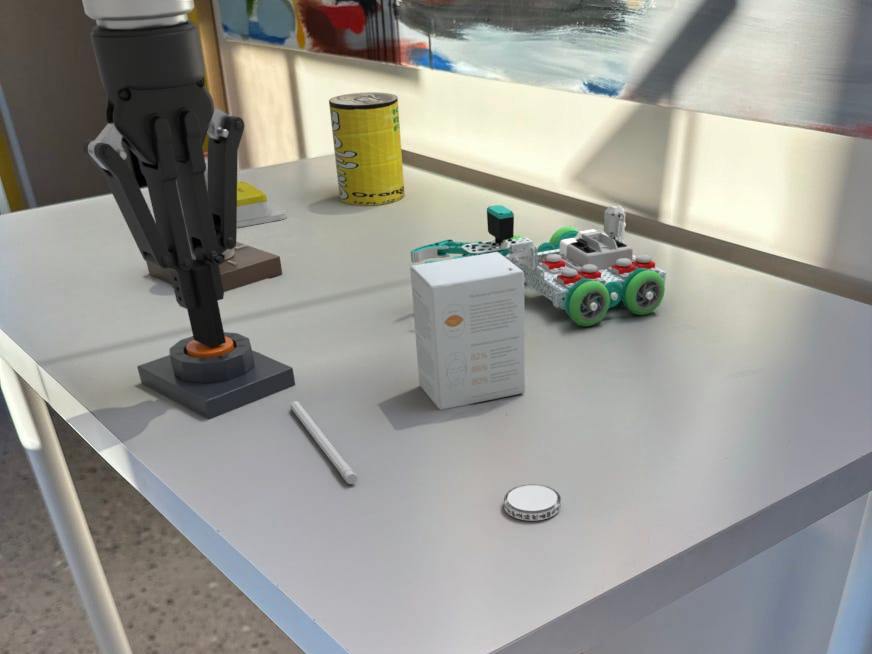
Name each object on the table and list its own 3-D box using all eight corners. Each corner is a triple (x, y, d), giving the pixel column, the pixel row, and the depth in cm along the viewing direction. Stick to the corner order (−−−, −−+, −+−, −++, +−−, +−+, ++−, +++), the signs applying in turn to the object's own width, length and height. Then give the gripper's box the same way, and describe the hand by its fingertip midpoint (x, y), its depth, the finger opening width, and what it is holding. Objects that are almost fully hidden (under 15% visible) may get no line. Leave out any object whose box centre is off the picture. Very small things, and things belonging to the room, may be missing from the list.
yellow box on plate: (148, 185, 125) (258, 168, 130) (156, 221, 128) (264, 202, 133) (168, 201, 118) (283, 182, 124) (176, 238, 121) (288, 218, 127)
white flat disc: (550, 524, 66) (550, 516, 66) (495, 514, 68) (495, 506, 67) (567, 496, 69) (568, 488, 69) (515, 487, 71) (515, 479, 70)
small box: (501, 370, 87) (499, 250, 81) (526, 394, 83) (526, 269, 76) (417, 386, 85) (408, 263, 78) (438, 412, 81) (430, 285, 74)
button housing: (141, 383, 87) (131, 346, 85) (225, 353, 92) (218, 317, 90) (209, 420, 81) (200, 380, 79) (295, 385, 86) (289, 347, 84)
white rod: (298, 398, 82) (359, 475, 71) (294, 408, 82) (354, 485, 72) (289, 395, 81) (349, 472, 71) (285, 404, 82) (344, 482, 71)
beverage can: (380, 184, 139) (372, 89, 132) (417, 196, 134) (411, 98, 126) (327, 196, 135) (315, 99, 127) (363, 209, 129) (353, 108, 122)
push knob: (181, 364, 85) (177, 344, 84) (219, 350, 87) (215, 331, 86) (206, 376, 83) (202, 356, 82) (245, 362, 85) (241, 342, 84)
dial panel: (149, 274, 111) (144, 255, 109) (222, 253, 116) (219, 234, 115) (207, 298, 104) (203, 277, 103) (282, 274, 110) (279, 254, 108)
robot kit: (394, 294, 103) (386, 201, 98) (598, 257, 111) (603, 169, 105) (463, 355, 90) (458, 252, 84) (690, 309, 98) (700, 211, 92)
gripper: (191, 7, 75) (247, 310, 89) (31, 27, 68) (120, 352, 82) (248, 13, 71) (296, 329, 85) (83, 35, 63) (167, 376, 78)
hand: (209, 340), depth 84 cm, fingers closed
